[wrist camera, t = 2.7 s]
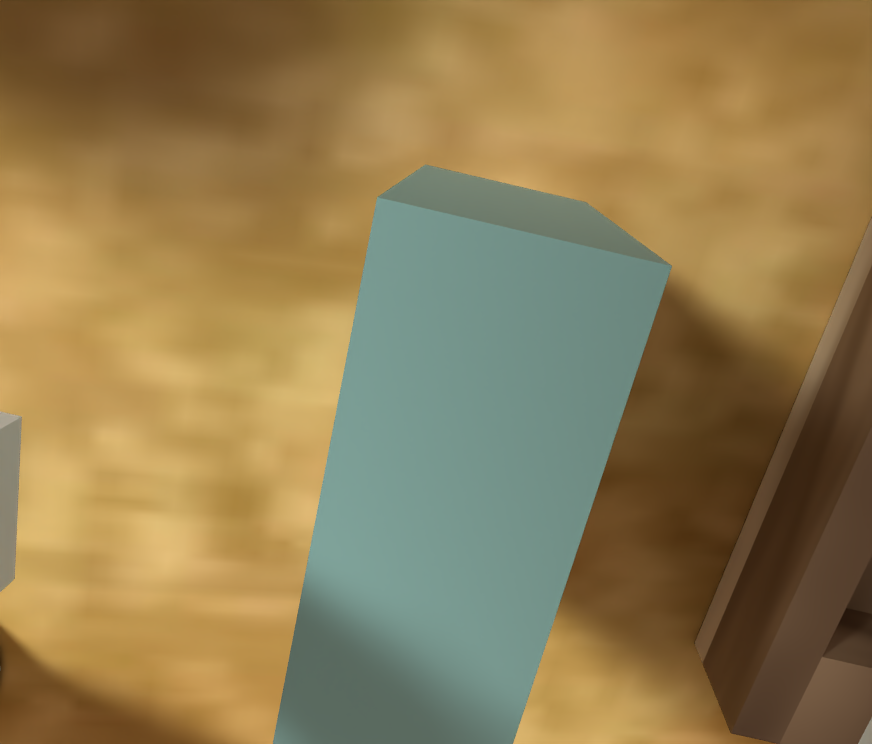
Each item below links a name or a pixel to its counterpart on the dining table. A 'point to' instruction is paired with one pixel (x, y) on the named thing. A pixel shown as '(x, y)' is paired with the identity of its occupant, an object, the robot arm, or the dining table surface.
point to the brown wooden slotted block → (807, 555)
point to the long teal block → (462, 458)
